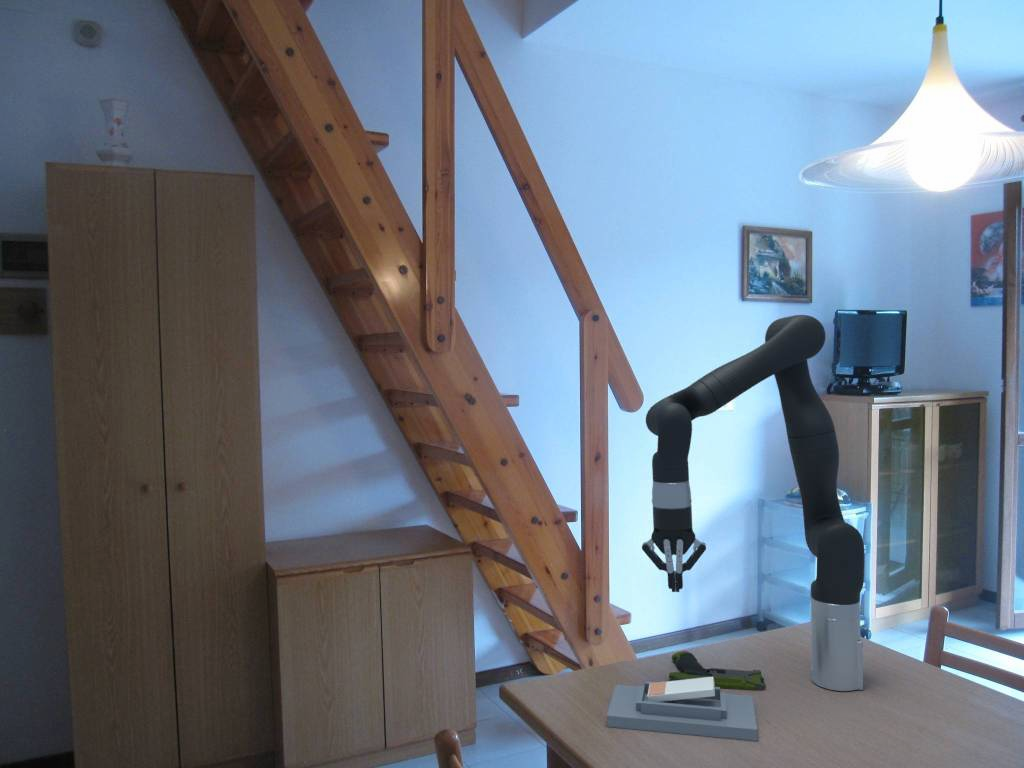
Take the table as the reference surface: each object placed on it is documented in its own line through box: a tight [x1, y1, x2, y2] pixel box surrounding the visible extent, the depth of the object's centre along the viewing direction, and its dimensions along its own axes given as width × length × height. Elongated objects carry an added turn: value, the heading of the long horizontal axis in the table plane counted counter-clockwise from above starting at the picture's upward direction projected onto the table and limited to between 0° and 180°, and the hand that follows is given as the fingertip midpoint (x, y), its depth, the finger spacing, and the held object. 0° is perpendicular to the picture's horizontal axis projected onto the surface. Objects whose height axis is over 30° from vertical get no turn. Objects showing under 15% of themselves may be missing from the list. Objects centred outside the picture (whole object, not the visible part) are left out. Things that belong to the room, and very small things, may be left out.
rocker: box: [647, 677, 715, 702], centre depth 143 cm, size 12×6×1 cm, turn 76°
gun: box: [668, 650, 767, 692], centre depth 163 cm, size 2×19×15 cm
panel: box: [606, 680, 758, 742], centre depth 144 cm, size 26×14×4 cm, turn 76°
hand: (675, 590), depth 153 cm, fingers closed
